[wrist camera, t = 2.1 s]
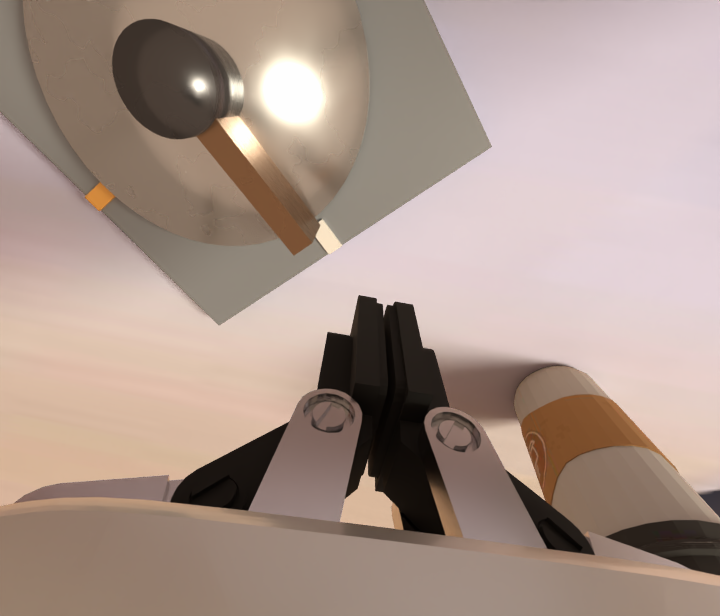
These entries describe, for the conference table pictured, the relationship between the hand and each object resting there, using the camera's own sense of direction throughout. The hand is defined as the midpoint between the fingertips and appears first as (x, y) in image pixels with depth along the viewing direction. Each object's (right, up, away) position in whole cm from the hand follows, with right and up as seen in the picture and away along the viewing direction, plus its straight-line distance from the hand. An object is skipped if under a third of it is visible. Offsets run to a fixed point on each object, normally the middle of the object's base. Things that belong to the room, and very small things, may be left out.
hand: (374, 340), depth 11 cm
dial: (-8, +12, +7) cm, 16 cm away
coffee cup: (+15, -6, +19) cm, 25 cm away
